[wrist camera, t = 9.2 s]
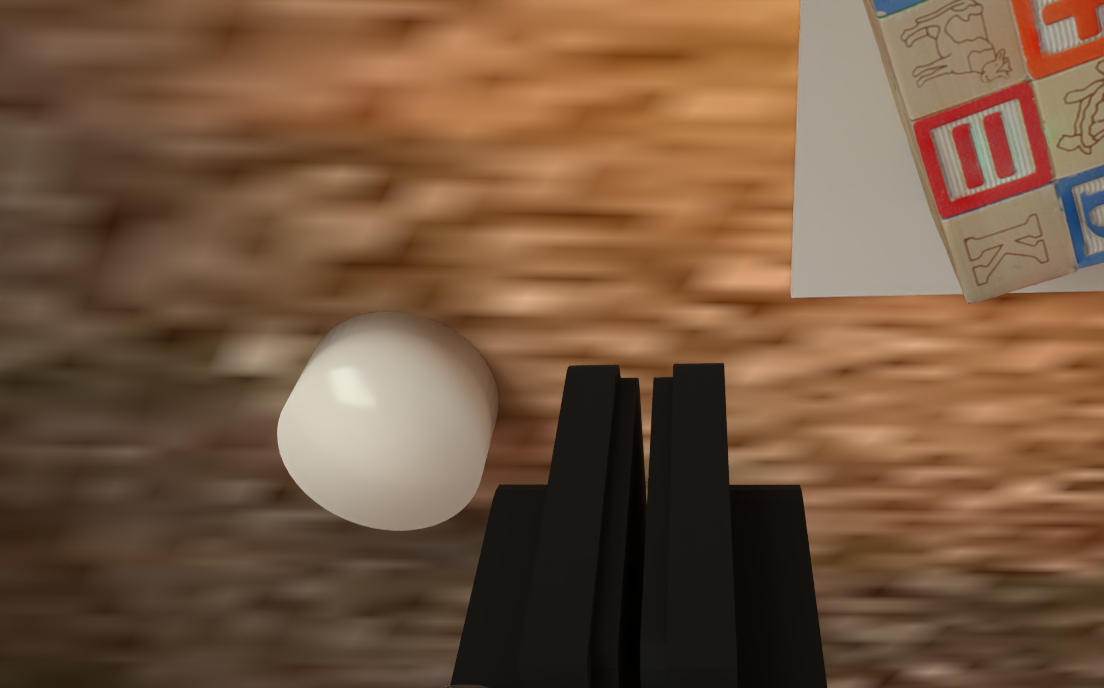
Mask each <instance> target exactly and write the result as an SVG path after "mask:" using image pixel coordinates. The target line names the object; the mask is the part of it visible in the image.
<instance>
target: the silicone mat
mask: <svg viewBox="0 0 1104 688" xmlns="http://www.w3.org/2000/svg"><path fill="white" fill-rule="evenodd" d="M1079 291H1104V263H1100V264H1096V265H1093V266H1089V267H1085V268H1080V269H1078V270H1077V272H1073V273H1070V274H1067V275H1065V276H1062V277H1059V278H1056V279H1052V280H1049V281H1045V282H1042V283H1039V284H1037V285H1032V286H1028V287H1025V288H1022V289H1019V290H1016V291H1013V292H1010V293H1033V292H1079ZM790 293H791V298H803V297H849V296H895V295H941V294H963V292H962V289H961V287H960V284H959V282H958V279H957V277H956V274H955V272H954V270H953V267H952V264H951V262H950V259H949V257H948V254H947V252H946V249H945V247H944V244H943V242H942V240H941V237H940V235H939V233H938V230H937V228H936V225H935V223H934V220H933V218H932V215H931V213H930V210H929V206H928V203H927V200H926V197H925V194H924V191H923V188H922V185H921V181H920V178H919V175H918V172H917V169H916V166H915V163H914V160H913V157H912V154H911V151H910V147H909V144H908V140H907V136H906V133H905V131H904V128H903V125H902V123H901V120H900V117H899V113H898V110H897V107H896V104H895V101H894V98H893V94H892V91H891V88H890V85H889V82H888V79H887V75H886V72H885V69H884V66H883V63H882V60H881V55H880V51H879V48H878V46H877V43H876V40H875V37H874V34H873V31H872V28H871V25H870V22H869V19H868V16H867V13H866V9H865V6H864V3H863V0H800V26H799V55H798V84H797V114H796V143H795V172H794V201H793V231H792V260H791V289H790Z"/></svg>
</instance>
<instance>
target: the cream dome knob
mask: <svg viewBox="0 0 1104 688" xmlns="http://www.w3.org/2000/svg"><path fill="white" fill-rule="evenodd" d="M498 408H499V397H498V390H497V386H496V382H495V379H494V377H493V374H492V372H491V370H490V368H489V367H488V365H487V363H486V361H485V360H484V359H483V357H482V356H481V355H480V353H479V352H478V351H477V350H476V349H475V348H474V347H473V346H472V345H471V344H470V343H469V342H468V341H466V340H465V339H464V338H463V337H462V336H460V335H459V334H457V333H456V332H454V331H453V330H451V329H450V328H448V327H446V326H444V325H442V324H440V323H438V322H436V321H433V320H430V319H428V318H425V317H421V316H418V315H414V314H409V313H402V312H373V313H368V314H363V315H359V316H356V317H353V318H351V319H348V320H346V321H344V322H342V323H340V324H339V325H337V326H336V327H334V328H333V329H332V330H330V331H329V332H328V333H327V334H326V335H325V336H324V337H323V338H322V340H321V341H320V342H319V344H318V345H317V347H316V348H315V350H314V352H313V354H312V356H311V358H310V360H309V361H308V363H307V365H306V367H305V369H304V371H303V373H302V374H301V376H300V378H299V380H298V382H297V384H296V386H295V387H294V389H293V391H292V393H291V395H290V397H289V398H288V400H287V402H286V404H285V406H284V408H283V410H282V412H281V415H280V419H279V422H278V430H277V437H278V446H279V450H280V454H281V457H282V460H283V462H284V465H285V466H286V468H287V470H288V472H289V474H290V475H291V477H292V478H293V479H294V481H295V482H296V483H297V485H298V486H299V487H300V488H301V489H302V490H303V491H304V492H305V493H306V494H307V495H308V496H309V497H310V498H312V499H313V500H314V501H315V502H316V503H318V504H319V505H321V506H322V507H323V508H325V509H327V510H328V511H330V512H332V513H334V514H335V515H337V516H339V517H342V518H344V519H346V520H348V521H351V522H354V523H357V524H360V525H363V526H367V527H371V528H377V529H383V530H396V531H401V530H415V529H422V528H426V527H430V526H434V525H436V524H439V523H441V522H444V521H446V520H448V519H449V518H451V517H453V516H455V515H456V514H457V513H458V512H460V511H461V510H462V509H463V508H464V507H465V506H466V505H467V504H468V503H469V502H470V501H471V499H472V498H473V496H474V495H475V493H476V491H477V489H478V487H479V485H480V481H481V477H482V474H483V470H484V466H485V462H486V458H487V454H488V450H489V446H490V443H491V439H492V435H493V431H494V427H495V423H496V419H497V415H498Z"/></svg>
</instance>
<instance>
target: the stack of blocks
mask: <svg viewBox="0 0 1104 688" xmlns="http://www.w3.org/2000/svg"><path fill="white" fill-rule="evenodd" d="M863 3H864V6H865V9H866V13H867V16H868V19H869V22H870V25H871V28H872V31H873V34H874V37H875V40H876V43H877V46H878V48H879V51H880V55H881V60H882V63H883V66H884V69H885V72H886V75H887V79H888V82H889V85H890V88H891V91H892V94H893V98H894V101H895V104H896V107H897V110H898V113H899V117H900V120H901V123H902V125H903V128H904V131H905V133H906V136H907V140H908V144H909V147H910V151H911V154H912V157H913V160H914V163H915V166H916V169H917V172H918V175H919V178H920V181H921V185H922V188H923V191H924V194H925V197H926V200H927V203H928V206H929V210H930V213H931V215H932V218H933V220H934V223H935V225H936V228H937V230H938V233H939V235H940V237H941V240H942V242H943V244H944V247H945V249H946V252H947V254H948V257H949V259H950V262H951V264H952V267H953V270H954V272H955V274H956V277H957V279H958V282H959V284H960V287H961V289H962V292H963V294H964V297H965V299H966V301H967V302H968V303H969V304H970V303H976V302H981V301H984V300H988V299H991V298H994V297H997V296H1000V295H1004V294H1007V293H1010V292H1013V291H1016V290H1019V289H1022V288H1025V287H1028V286H1032V285H1037V284H1039V283H1042V282H1045V281H1049V280H1052V279H1056V278H1059V277H1062V276H1065V275H1067V274H1070V273H1073V272H1077V270H1078V269H1080V268H1085V267H1089V266H1093V265H1096V264H1100V263H1104V0H863Z"/></svg>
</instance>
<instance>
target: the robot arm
mask: <svg viewBox="0 0 1104 688" xmlns="http://www.w3.org/2000/svg"><path fill="white" fill-rule="evenodd" d="M443 688H827V682H826V675H825V667H824V659H823V651H822V643H821V636H820V628H819V620H818V612H817V605H816V597H815V589H814V581H813V573H812V566H811V558H810V550H809V542H808V534H807V527H806V519H805V511H804V503H803V497H802V491H801V487H800V485H729V465H728V443H727V420H726V397H725V375H724V363H703V364H674V365H673V377H659V378H654V381H653V400H652V419H651V439H650V458H649V478H648V498H647V500H646V484H645V468H644V452H643V436H642V420H641V404H640V388H639V379H638V378H621V376H620V369H619V366H618V365H576V366H569V367H568V369H567V374H566V380H565V385H564V391H563V397H562V403H561V409H560V415H559V421H558V427H557V433H556V439H555V445H554V451H553V456H552V462H551V468H550V474H549V480H548V485H499V486H498V488H497V489H496V492H495V495H494V498H493V502H492V506H491V510H490V515H489V519H488V523H487V528H486V532H485V536H484V541H483V545H482V550H481V554H480V558H479V563H478V567H477V571H476V576H475V580H474V584H473V589H472V593H471V597H470V602H469V606H468V611H467V615H466V619H465V624H464V628H463V632H462V637H461V641H460V645H459V650H458V654H457V658H456V663H455V667H454V672H453V676H452V680H451V685H450V686H447V687H443Z"/></svg>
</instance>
